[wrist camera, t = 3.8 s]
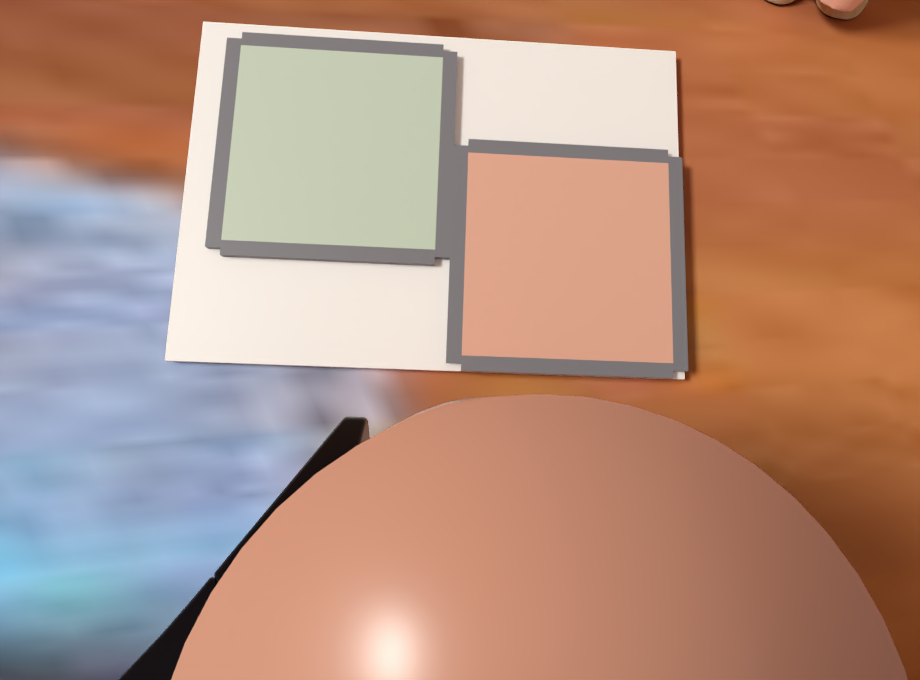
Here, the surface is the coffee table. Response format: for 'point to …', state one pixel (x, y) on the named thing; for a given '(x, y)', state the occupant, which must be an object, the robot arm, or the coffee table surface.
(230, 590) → the peach round-top post
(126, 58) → the coffee table surface
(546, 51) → the sheet
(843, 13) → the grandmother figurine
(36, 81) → the coffee table surface
